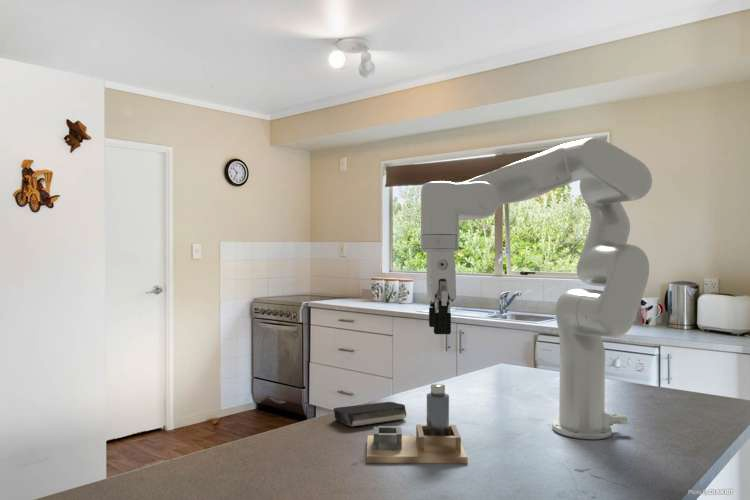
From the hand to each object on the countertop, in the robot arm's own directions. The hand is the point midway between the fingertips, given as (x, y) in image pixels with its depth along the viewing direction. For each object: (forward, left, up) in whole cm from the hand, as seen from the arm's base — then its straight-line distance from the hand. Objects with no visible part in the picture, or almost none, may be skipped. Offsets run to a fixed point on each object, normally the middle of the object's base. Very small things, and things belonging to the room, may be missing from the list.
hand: (439, 330), depth 114 cm
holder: (+5, 0, -24) cm, 25 cm away
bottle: (0, 0, -23) cm, 23 cm away
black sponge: (+14, -20, -25) cm, 35 cm away
